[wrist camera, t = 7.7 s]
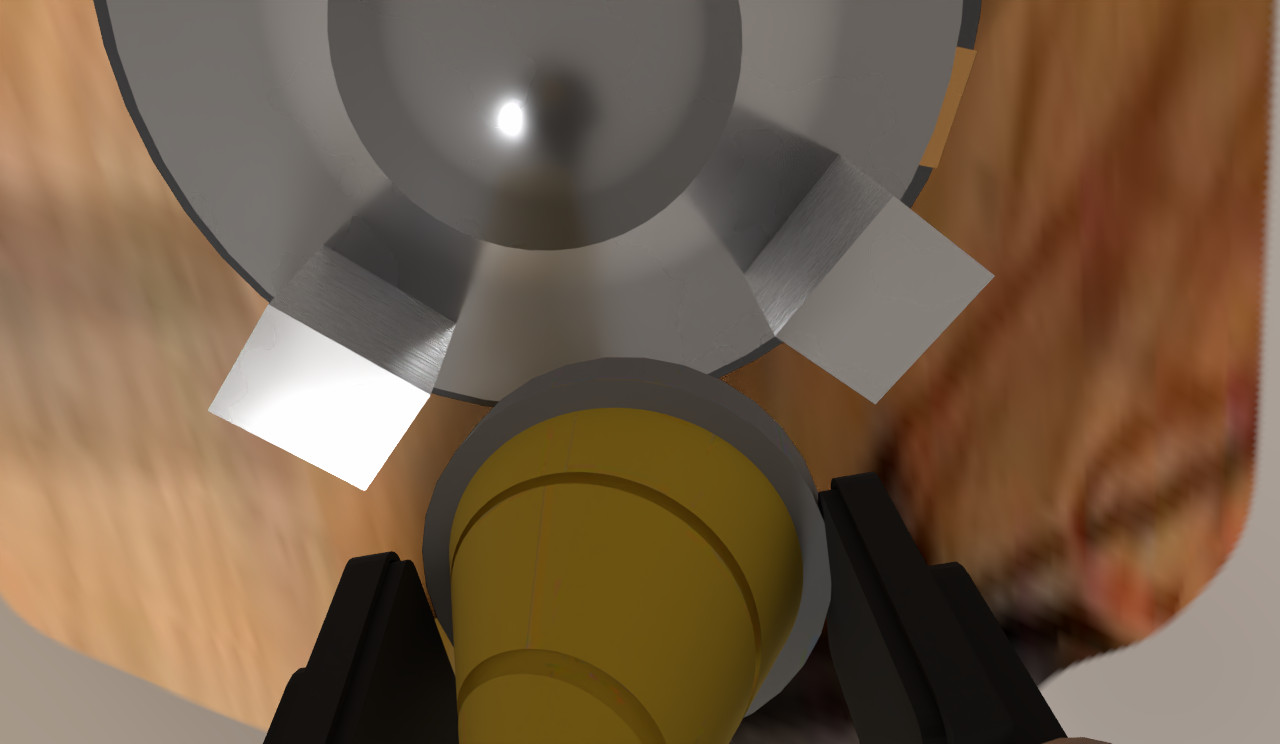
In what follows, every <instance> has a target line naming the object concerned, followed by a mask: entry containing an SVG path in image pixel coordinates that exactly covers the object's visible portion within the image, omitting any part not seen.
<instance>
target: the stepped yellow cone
mask: <svg viewBox="0 0 1280 744" xmlns="http://www.w3.org/2000/svg"><path fill="white" fill-rule="evenodd" d="M422 554H423V563H424V572H425V580H426V587H427V590H428V593H429V596H430V599H431V602H432V605H433V608H434V611H435V614H436V617H437V619H438V621H439V623H440V625H441V626H442V628H443V630H444V632H445V633H446V635H447V637H448V639H449V640H450V642H451V644H452V646H453V648H454V658H455V677H456V696H457V713H458V733H459V744H729V743H730V741H731V739H732V737H733V735H734V734H735V732H736V730H737V728H738V727H739V725H740V723H741V721H742V719H743V718H744V717H746V716H748V715H750V714H752V713H754V712H755V711H756V710H758V709H759V708H760V707H762V706H763V705H764V704H765V703H767V702H768V701H769V700H771V699H772V698H773V697H775V696H776V695H777V694H779V693H780V692H781V691H782V690H783V689H784V687H785V686H786V685H787V684H788V683H789V682H790V681H791V679H792V678H793V677H794V676H795V675H796V674H797V673H798V671H799V670H800V669H801V668H802V667H803V666H804V664H805V662H806V660H807V659H808V657H809V655H810V653H811V651H812V649H813V648H814V646H815V644H816V642H817V640H818V639H819V637H820V635H821V632H822V628H823V625H824V621H825V618H826V614H827V611H828V607H829V604H830V600H831V574H830V566H829V557H828V549H827V540H826V531H825V523H824V520H823V517H822V514H821V511H820V507H819V504H818V491H817V489H816V486H815V484H814V482H813V479H812V477H811V474H810V472H809V469H808V467H807V465H806V462H805V460H804V458H803V457H802V455H801V454H800V452H799V451H798V450H797V448H796V447H795V445H794V444H793V442H792V441H791V439H790V438H789V436H788V435H787V434H786V432H785V431H784V429H783V428H782V427H781V426H780V425H779V424H778V423H777V422H776V421H775V420H774V419H773V418H772V417H770V416H769V415H768V414H767V413H766V412H765V411H764V410H763V409H762V408H761V407H760V406H759V405H758V404H757V403H756V402H755V401H753V400H752V399H750V398H749V397H747V396H745V395H744V394H742V393H741V392H739V391H738V390H736V389H735V388H733V387H731V386H730V385H728V384H727V383H725V382H724V381H722V380H720V379H717V378H715V377H712V376H710V375H707V374H705V373H702V372H700V371H697V370H695V369H692V368H690V367H687V366H685V365H680V364H675V363H670V362H665V361H660V360H655V359H650V358H632V357H604V358H599V359H594V360H588V361H583V362H578V363H573V364H567V365H565V366H562V367H560V368H557V369H555V370H552V371H550V372H547V373H545V374H542V375H540V376H537V377H535V378H532V379H531V380H529V381H528V382H526V383H525V384H523V385H522V386H520V387H519V388H517V389H516V390H514V391H513V392H511V393H510V394H508V395H507V396H505V397H504V398H502V399H501V400H500V401H499V402H498V403H497V404H496V405H495V406H494V407H493V409H492V410H491V411H490V412H489V413H488V414H487V415H486V416H485V417H484V418H483V419H482V420H481V421H480V422H479V423H478V424H477V425H476V427H475V428H474V429H473V430H472V432H471V433H470V434H469V435H468V437H467V438H466V439H465V440H464V442H463V443H462V444H461V445H460V447H459V448H458V449H457V450H456V452H455V453H454V455H453V457H452V458H451V460H450V462H449V463H448V465H447V466H446V468H445V470H444V471H443V473H442V475H441V476H440V478H439V480H438V481H437V483H436V486H435V489H434V492H433V495H432V498H431V501H430V504H429V507H428V510H427V513H426V517H425V527H424V537H423V547H422Z"/></svg>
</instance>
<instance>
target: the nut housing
mask: <svg viewBox="0 0 1280 744" xmlns="http://www.w3.org/2000/svg"><path fill="white" fill-rule="evenodd" d="M93 1H94V5H95V9H96V14H97V18H98V22H99V26H100V31H101V35H102V39H103V44H104V47H105V50H106V53H107V56H108V58H109V61H110V64H111V67H112V69H113V72H114V75H115V78H116V81H117V83H118V86H119V89H120V92H121V95H122V97H123V100H124V103H125V106H126V108H127V110H128V112H129V114H130V116H131V118H132V120H133V122H134V124H135V126H136V128H137V130H138V132H139V134H140V136H141V138H142V140H143V142H144V144H145V146H146V148H147V150H148V152H149V154H150V157H151V159H152V161H153V162H154V164H155V165H156V167H157V169H158V170H159V172H160V173H161V175H162V176H163V178H164V180H165V181H166V183H167V184H168V186H169V187H170V189H171V190H172V192H173V194H174V195H175V197H176V198H177V200H178V201H179V203H180V205H181V206H182V208H183V209H184V211H185V212H186V213H187V215H188V216H189V217H190V218H191V220H192V221H193V222H194V223H195V225H196V226H197V227H198V228H199V230H200V231H201V232H202V233H203V234H204V236H205V237H206V238H207V239H208V241H209V242H210V243H211V244H212V246H213V247H214V248H215V249H216V251H217V252H218V253H219V254H220V256H221V257H222V258H223V259H224V260H225V261H226V262H227V263H228V264H229V265H230V266H231V267H232V268H233V269H234V270H235V271H236V272H237V273H238V274H239V275H240V276H241V277H242V278H243V279H244V280H245V281H246V282H248V283H249V284H250V285H251V286H252V287H253V288H254V289H255V290H256V291H257V292H258V293H259V294H260V295H261V296H262V297H263V298H264V299H266V300H267V301H268V302H269V303H270V302H271V301H272V300H273V299H274V297H273V296H272V295H270V294H269V293H268V292H267V291H266V290H265V289H264V288H263V287H262V286H261V285H260V284H259V283H258V282H257V281H256V280H255V279H254V278H253V277H252V276H251V275H250V274H249V273H248V272H247V271H246V270H245V269H244V268H243V267H242V266H241V265H240V264H239V263H238V262H237V261H236V260H235V259H234V258H233V257H232V256H231V255H230V254H229V253H228V252H227V251H226V249H225V248H224V247H223V246H222V244H221V243H220V242H219V241H218V239H217V238H216V237H215V236H214V234H213V233H212V232H211V231H210V229H209V228H208V227H207V226H206V224H205V223H204V222H203V221H202V219H201V218H200V217H199V216H198V214H197V213H196V212H195V211H194V209H193V207H192V206H191V204H190V203H189V201H188V199H187V198H186V196H185V195H184V193H183V192H182V190H181V188H180V187H179V185H178V184H177V182H176V181H175V179H174V177H173V176H172V174H171V173H170V171H169V170H168V168H167V166H166V165H165V163H164V161H163V159H162V157H161V155H160V153H159V151H158V149H157V147H156V145H155V143H154V141H153V139H152V137H151V135H150V133H149V131H148V128H147V126H146V124H145V122H144V120H143V118H142V116H141V114H140V112H139V110H138V107H137V105H136V102H135V99H134V96H133V93H132V90H131V88H130V85H129V82H128V79H127V76H126V73H125V71H124V68H123V65H122V62H121V59H120V56H119V54H118V50H117V46H116V42H115V37H114V33H113V28H112V24H111V19H110V15H109V11H108V6H107V2H106V0H93ZM980 12H981V0H963V7H962V21H961V26H960V31H959V37H958V42H957V47H956V52H955V58H954V63H953V68H952V73H951V78H950V81H949V85H948V88H947V91H946V94H945V97H944V101H943V104H942V107H941V110H940V113H939V116H938V120H937V123H936V126H935V129H934V132H933V134H932V136H931V139H930V141H929V143H928V145H927V148H926V150H925V152H924V154H923V157H922V159H921V161H920V163H919V166H918V168H917V170H916V172H915V175H914V177H913V179H912V181H911V183H910V184H909V186H908V188H907V190H906V191H905V193H904V195H903V196H902V198H901V200H900V201H901V202H902V203H904V204H905V205H906V206H907V207H909V208H911V207H912V205H913V203H914V202H915V200H916V198H917V197H918V195H919V193H920V192H921V190H922V188H923V187H924V185H925V183H926V182H927V180H928V178H929V176H930V173H931V171H932V169H933V168H937V167H938V164H939V161H940V158H941V155H942V152H943V150H944V147H945V144H946V141H947V138H948V135H949V132H950V129H951V126H952V123H953V120H954V117H955V115H956V112H957V109H958V106H959V103H960V100H961V97H962V94H963V91H964V88H965V85H966V83H967V80H968V77H969V74H970V71H971V68H972V65H973V62H974V59H975V56H976V53H977V51H975V50H973V49H974V43H975V38H976V33H977V28H978V23H979V18H980ZM781 343H783V341H781V340H780V339H778V338H777V337H773V338H772V339H770V340H769V341H767V342H766V343H764V344H762V345H761V346H759V347H758V348H756V349H755V350H753V351H752V352H750V353H749V354H747V355H745V356H743V357H741V358H739V359H737V360H735V361H733V362H731V363H729V364H727V365H725V366H723V367H721V368H719V369H717V370H715V371H713V372H711V373H709V374H707V375H710V376H712V377H715V378H717V379H718V378H720V377H722V376H724V375H726V374H728V373H730V372H732V371H734V370H736V369H738V368H740V367H742V366H744V365H746V364H748V363H750V362H752V361H754V360H756V359H758V358H759V357H761V356H762V355H764V354H765V353H767V352H769V351H770V350H772V349H773V348H775V347H776V346H778V345H779V344H781ZM431 393H434V394H436V395H440V396H444V397H448V398H453V399H457V400H461V401H465V402H470V403H474V404H478V405H482V406H489V407H494V406H495V405H496V404H497V403H498V402H499V401H492V400H484V399H480V398H475V397H471V396H467V395H463V394H458V393H454V392H450V391H446V390H441V389H438V388H435V387H433V390H432V392H431Z"/></svg>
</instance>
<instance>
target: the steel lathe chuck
mask: <svg viewBox="0 0 1280 744" xmlns="http://www.w3.org/2000/svg"><path fill="white" fill-rule="evenodd" d="M106 2H107V6H108V11H109V15H110V19H111V24H112V28H113V33H114V37H115V42H116V46H117V50H118V54H119V56H120V59H121V62H122V65H123V68H124V71H125V73H126V76H127V79H128V82H129V85H130V88H131V90H132V93H133V96H134V99H135V102H136V105H137V107H138V110H139V112H140V114H141V116H142V118H143V120H144V122H145V124H146V126H147V128H148V131H149V133H150V135H151V137H152V139H153V141H154V143H155V145H156V147H157V149H158V151H159V153H160V155H161V157H162V159H163V161H164V163H165V165H166V166H167V168H168V170H169V171H170V173H171V174H172V176H173V177H174V179H175V181H176V182H177V184H178V185H179V187H180V188H181V190H182V192H183V193H184V195H185V196H186V198H187V199H188V201H189V203H190V204H191V206H192V207H193V209H194V211H195V212H196V213H197V214H198V216H199V217H200V218H201V219H202V221H203V222H204V223H205V224H206V226H207V227H208V228H209V229H210V231H211V232H212V233H213V234H214V236H215V237H216V238H217V239H218V241H219V242H220V243H221V244H222V246H223V247H224V248H225V249H226V251H227V252H228V253H229V254H230V255H231V256H232V257H233V258H234V259H235V260H236V261H237V262H238V263H239V264H240V265H241V266H242V267H243V268H244V269H245V270H246V271H247V272H248V273H249V274H250V275H251V276H252V277H253V278H254V279H255V280H256V281H257V282H258V283H259V284H260V285H261V286H262V287H263V288H264V289H265V290H266V291H267V292H268V293H269V294H270V295H272V296H273V297H274V299H273V300H272V301H271V302H270V303H269V304H268V306H267V307H266V309H265V311H264V313H263V315H262V316H261V318H260V320H259V322H258V323H257V325H256V327H255V329H254V330H253V332H252V334H251V336H250V337H249V339H248V341H247V343H246V344H245V346H244V348H243V350H242V351H241V353H240V355H239V357H238V358H237V360H236V362H235V364H234V366H233V367H232V369H231V371H230V373H229V374H228V376H227V378H226V380H225V381H224V383H223V385H222V387H221V388H220V390H219V392H218V394H217V395H216V397H215V399H214V401H213V402H212V404H211V406H210V408H209V409H208V411H209V412H211V413H213V414H215V415H217V416H219V417H221V418H223V419H225V420H227V421H229V422H231V423H233V424H235V425H237V426H239V427H241V428H243V429H245V430H247V431H249V432H251V433H253V434H255V435H256V436H258V437H260V438H262V439H264V440H266V441H268V442H270V443H272V444H274V445H276V446H278V447H280V448H282V449H284V450H286V451H288V452H290V453H292V454H294V455H296V456H298V457H300V458H302V459H304V460H306V461H308V462H310V463H312V464H314V465H316V466H318V467H320V468H322V469H324V470H325V471H327V472H329V473H331V474H333V475H335V476H337V477H339V478H341V479H343V480H345V481H347V482H349V483H351V484H353V485H355V486H357V487H359V488H361V489H363V490H366V489H367V487H368V486H369V484H370V483H371V481H372V480H373V478H374V477H375V476H376V474H377V473H378V471H379V470H380V468H381V467H382V465H383V464H384V462H385V461H386V459H387V458H388V457H389V455H390V454H391V452H392V451H393V449H394V448H395V446H396V445H397V443H398V442H399V440H400V439H401V438H402V436H403V435H404V433H405V432H406V430H407V429H408V427H409V426H410V424H411V423H412V421H413V420H414V419H415V417H416V416H417V414H418V413H419V411H420V410H421V408H422V407H423V405H424V404H425V402H426V401H427V400H428V398H429V397H430V395H431V392H432V390H433V387H435V388H438V389H441V390H446V391H450V392H454V393H458V394H463V395H467V396H471V397H475V398H480V399H484V400H492V401H500V400H501V399H502V398H504V397H505V396H507V395H508V394H510V393H511V392H513V391H514V390H516V389H517V388H519V387H520V386H522V385H523V384H525V383H526V382H528V381H529V380H531V379H532V378H535V377H537V376H540V375H542V374H545V373H547V372H550V371H552V370H555V369H557V368H560V367H562V366H565V365H567V364H573V363H578V362H583V361H588V360H594V359H599V358H604V357H632V358H650V359H655V360H660V361H665V362H670V363H675V364H680V365H685V366H687V367H690V368H692V369H695V370H697V371H700V372H702V373H705V374H709V373H711V372H713V371H715V370H717V369H719V368H721V367H723V366H725V365H727V364H729V363H731V362H733V361H735V360H737V359H739V358H741V357H743V356H745V355H747V354H749V353H750V352H752V351H753V350H755V349H756V348H758V347H759V346H761V345H762V344H764V343H766V342H767V341H769V340H770V339H772V338H773V337H777V338H778V339H780V340H781V341H783V342H784V343H786V344H787V345H789V346H790V347H791V348H793V349H794V350H796V351H797V352H799V353H800V354H802V355H803V356H805V357H806V358H808V359H809V360H811V361H812V362H814V363H815V364H816V365H818V366H819V367H821V368H822V369H824V370H825V371H827V372H828V373H830V374H831V375H833V376H834V377H836V378H837V379H839V380H840V381H841V382H843V383H844V384H846V385H847V386H849V387H850V388H852V389H853V390H855V391H856V392H858V393H859V394H861V395H862V396H864V397H865V398H866V399H868V400H869V401H871V402H872V403H874V404H876V403H877V402H878V401H879V400H880V399H881V398H882V397H883V396H884V395H885V394H886V393H887V392H888V390H889V389H890V388H891V387H892V386H893V385H894V384H895V383H896V382H897V381H898V380H899V379H900V378H901V376H902V375H903V374H904V373H905V372H906V371H907V370H908V369H909V368H910V367H911V366H912V365H913V364H914V362H915V361H916V360H917V359H918V358H919V357H920V356H921V355H922V354H923V353H924V352H925V351H926V350H927V348H928V347H929V346H930V345H931V344H932V343H933V342H934V341H935V340H936V339H937V338H938V337H939V336H940V335H941V333H942V332H943V331H944V330H945V329H946V328H947V327H948V326H949V325H950V324H951V323H952V322H953V321H954V319H955V318H956V317H957V316H958V315H959V314H960V313H961V312H962V311H963V310H964V309H965V308H966V307H967V305H968V304H969V303H970V302H971V301H972V300H973V299H974V298H975V297H976V296H977V295H978V294H979V293H980V291H981V290H982V289H983V288H984V287H985V286H986V285H987V284H988V283H989V282H990V281H991V280H992V279H993V278H994V276H995V275H993V274H992V273H991V272H989V271H988V270H987V269H986V268H984V267H983V266H982V265H981V264H979V263H978V262H977V261H976V260H974V259H973V258H972V257H970V256H969V255H968V254H967V253H965V252H964V251H963V250H962V249H960V248H959V247H958V246H957V245H955V244H954V243H953V242H952V241H950V240H949V239H948V238H946V237H945V236H944V235H943V234H941V233H940V232H939V231H938V230H936V229H935V228H934V227H933V226H931V225H930V224H929V223H928V222H926V221H925V220H924V219H922V218H921V217H920V216H919V215H917V214H916V213H915V212H914V211H912V210H911V209H910V208H909V207H907V206H906V205H905V204H904V203H902V202H901V201H900V200H901V198H902V196H903V195H904V193H905V191H906V190H907V188H908V186H909V184H910V183H911V181H912V179H913V177H914V175H915V172H916V170H917V168H918V166H919V163H920V161H921V159H922V157H923V154H924V152H925V150H926V148H927V145H928V143H929V141H930V139H931V136H932V134H933V132H934V129H935V126H936V123H937V120H938V116H939V113H940V110H941V107H942V104H943V101H944V97H945V94H946V91H947V88H948V85H949V81H950V78H951V73H952V68H953V63H954V58H955V52H956V47H957V42H958V37H959V31H960V26H961V21H962V7H963V0H106Z"/></svg>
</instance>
